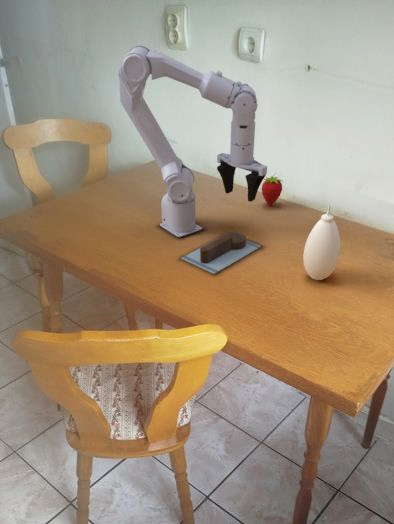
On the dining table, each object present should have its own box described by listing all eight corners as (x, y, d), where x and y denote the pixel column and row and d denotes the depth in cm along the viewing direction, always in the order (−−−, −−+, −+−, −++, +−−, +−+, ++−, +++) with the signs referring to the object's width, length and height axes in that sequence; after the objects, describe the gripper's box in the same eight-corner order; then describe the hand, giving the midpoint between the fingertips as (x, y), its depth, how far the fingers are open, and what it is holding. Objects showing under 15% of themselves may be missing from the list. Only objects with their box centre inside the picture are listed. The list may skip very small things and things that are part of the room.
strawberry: (281, 201, 150) (284, 167, 144) (279, 212, 144) (283, 177, 138) (261, 200, 151) (263, 166, 145) (259, 210, 145) (261, 176, 139)
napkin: (181, 258, 124) (181, 257, 124) (228, 233, 134) (228, 232, 134) (214, 274, 119) (214, 273, 118) (261, 247, 129) (261, 245, 128)
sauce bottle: (327, 290, 113) (341, 215, 101) (295, 281, 116) (305, 206, 104) (339, 274, 118) (353, 201, 106) (308, 266, 121) (318, 193, 109)
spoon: (210, 266, 121) (210, 254, 118) (193, 259, 124) (193, 246, 121) (250, 244, 129) (251, 231, 127) (233, 237, 132) (233, 225, 130)
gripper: (276, 144, 120) (271, 199, 128) (230, 132, 128) (229, 184, 136) (258, 151, 116) (254, 207, 125) (211, 138, 124) (211, 192, 132)
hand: (240, 196), depth 130 cm, fingers open, 7 cm apart
